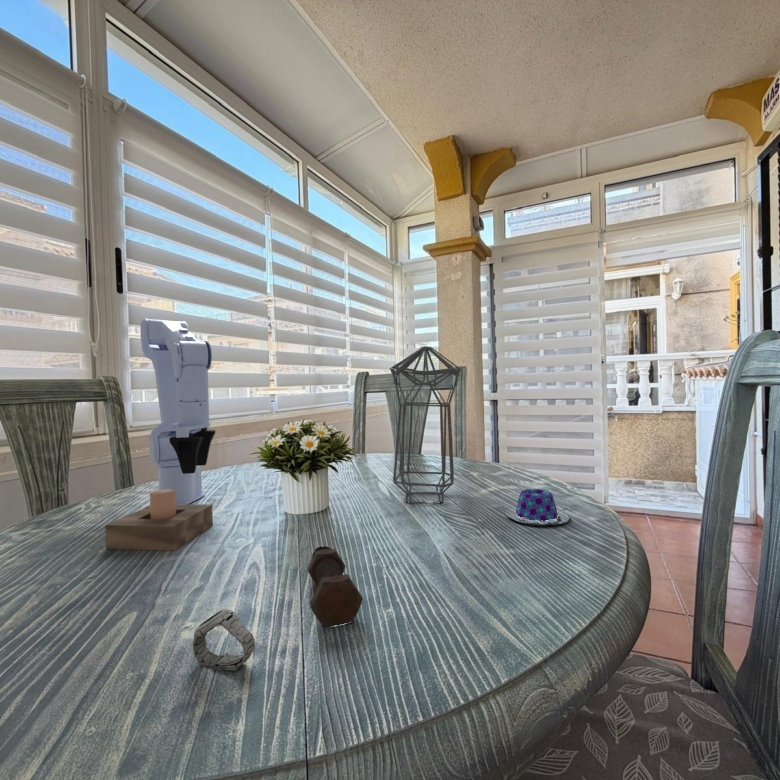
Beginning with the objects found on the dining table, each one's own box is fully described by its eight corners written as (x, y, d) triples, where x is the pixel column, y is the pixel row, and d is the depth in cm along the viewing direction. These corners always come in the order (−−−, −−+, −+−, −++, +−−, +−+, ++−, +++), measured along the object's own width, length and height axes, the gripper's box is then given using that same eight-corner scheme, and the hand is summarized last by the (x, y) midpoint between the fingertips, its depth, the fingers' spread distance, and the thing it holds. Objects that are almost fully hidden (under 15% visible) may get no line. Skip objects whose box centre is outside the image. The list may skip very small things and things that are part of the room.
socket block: (154, 524, 81) (153, 504, 81) (212, 525, 80) (212, 504, 79) (106, 549, 69) (105, 525, 69) (174, 550, 68) (173, 526, 68)
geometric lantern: (395, 489, 104) (395, 349, 104) (459, 491, 102) (459, 349, 102) (386, 507, 88) (386, 342, 88) (461, 510, 86) (461, 342, 86)
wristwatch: (209, 649, 42) (207, 600, 42) (262, 659, 40) (260, 608, 40) (182, 672, 39) (181, 619, 39) (239, 684, 37) (237, 629, 37)
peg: (169, 531, 77) (168, 488, 77) (181, 535, 75) (179, 491, 75) (147, 537, 74) (145, 492, 74) (157, 542, 71) (156, 496, 71)
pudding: (578, 531, 73) (578, 501, 73) (508, 528, 75) (507, 500, 75) (561, 510, 85) (561, 484, 85) (501, 508, 87) (500, 484, 87)
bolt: (328, 581, 60) (345, 638, 46) (297, 567, 59) (304, 622, 44) (347, 543, 61) (369, 588, 46) (317, 529, 60) (329, 571, 45)
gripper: (183, 400, 89) (185, 463, 90) (157, 403, 75) (159, 478, 75) (218, 399, 91) (219, 461, 91) (198, 402, 76) (200, 476, 76)
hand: (194, 469), depth 83 cm, fingers open, 7 cm apart
